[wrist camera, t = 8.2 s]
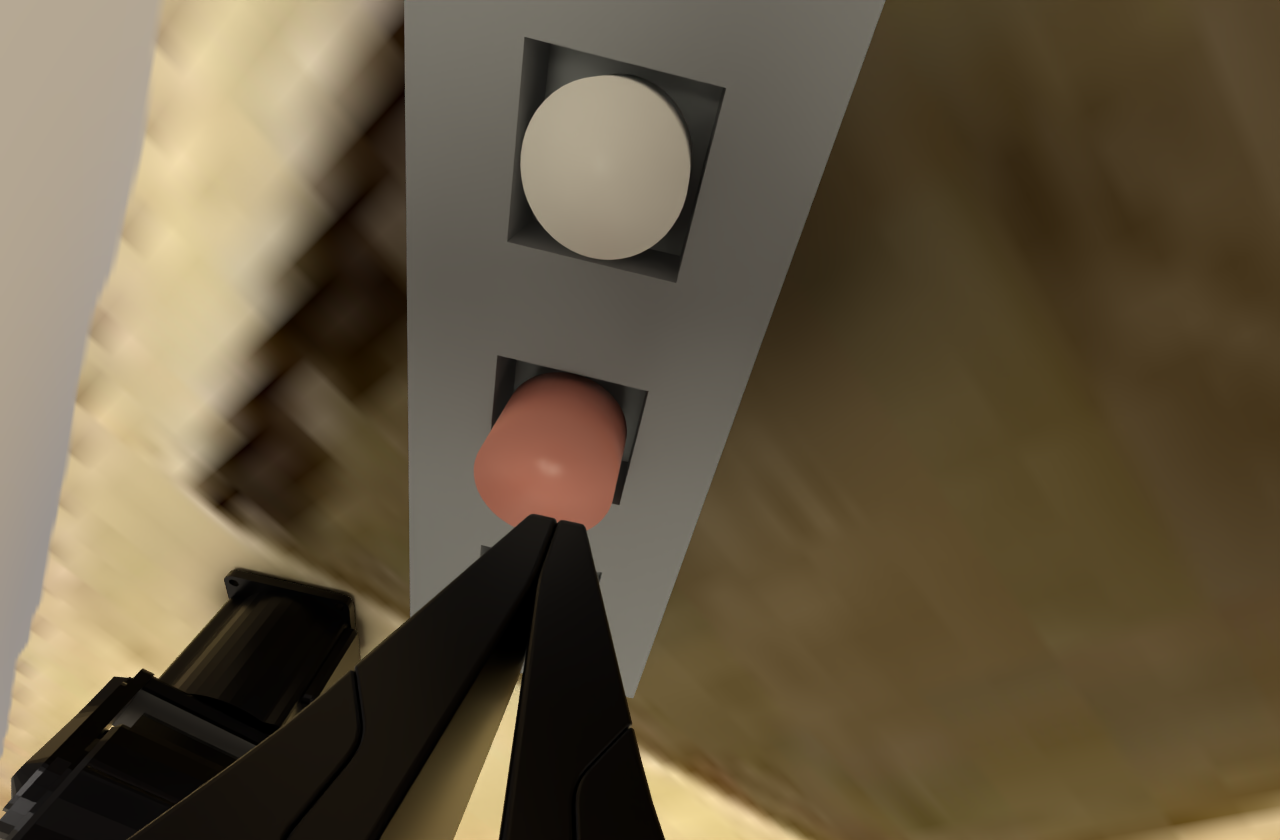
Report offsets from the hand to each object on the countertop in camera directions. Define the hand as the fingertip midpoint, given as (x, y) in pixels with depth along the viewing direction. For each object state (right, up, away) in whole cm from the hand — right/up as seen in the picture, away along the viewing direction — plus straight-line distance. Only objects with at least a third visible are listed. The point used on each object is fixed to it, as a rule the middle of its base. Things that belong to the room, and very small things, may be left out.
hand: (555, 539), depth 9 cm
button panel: (-1, +3, +13) cm, 13 cm away
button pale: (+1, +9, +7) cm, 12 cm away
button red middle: (-1, +2, +10) cm, 10 cm away
